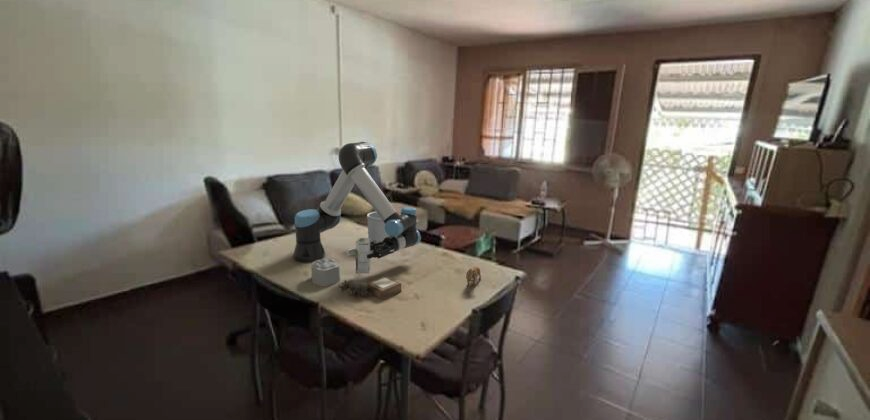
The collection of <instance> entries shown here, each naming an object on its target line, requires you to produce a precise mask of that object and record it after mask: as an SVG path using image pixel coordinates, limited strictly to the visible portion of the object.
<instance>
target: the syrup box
mask: <svg viewBox="0 0 870 420" xmlns="http://www.w3.org/2000/svg"><path fill="white" fill-rule="evenodd" d="M355 248H356V254H355V274H370V270H371V258H370V259H367V260H364V261H360V258H359V255H361V254H364V253H368V252H371V250H370V238H368V237H358V238H357V239H356V241H355Z"/></svg>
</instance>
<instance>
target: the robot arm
mask: <svg viewBox="0 0 870 420" xmlns="http://www.w3.org/2000/svg"><path fill="white" fill-rule="evenodd" d="M377 159H378V153H377V150H376V147H375V145H373V144H372V143H370V142H368V141H359V142H349V143H346V144H344V145H343V146H342V147H340V150H339V152H338V161H339V165H340V167H341V172H340V174H339V175H338V178H337V180H336V181H335V183H334V185H333V186H332V188H331V190H330V192H329V193H328V195H327V197H326V199H325V200H322V201H321V202H320V204H319V205H318V206H317V209H315V208H314V209H311V208H310V209H309V208H307V209H304V210H300V211H298V212H297V213H296V214H295V216H294V228H295V229H294V231H295V240H296V242H295V243H296V244H295V246H294V251H293V254H292V255H293V260H295V261H296V262H299V263H300V262H302V263H309V262H311V263H313V262H314V261H316V260H321V259H323V258H325V256H326V251H325V248H324V246H323V244H322V242H321V241H322V240H321V233H323V232H326V231H329V230H332V229H333V228H335V227H336V226H338V224H339V223H341V219H342V216H341V214H342V210H341V208H342V206H343V205H344V203H345V201H346V200H347V198H348V196H349V195H350V193H351V191H352V189H353V188H354V186H355V185H356V186H357V187H358V189H359V190H360V192H361V193H362V194H363V196H364V197H365V198H366V199H367V202H368V203H369V204H370V205H371V207H373V208H372V209H374V212H377V213H378V215H379V216H380V217H381V219H382V220H383V222H384V223H385V232H386V233H387V234H388V235H389V237H386V238H384V240H383V241H382V242H378V243H376V241H375V240H374V241H372V242H370V252H368V253H364V254H361V255H359V258H360V261H364V260H367V259H370V260H371V259H373V258H374V259H375V258H377V259H381V258H385V257H386V256H388V255H390V254H394V253H395V252H399V251H401V250H403V249H404V250H405V249H407V248H410V247H414V246H416V245H418V244H419V243H420V242H421V240H422V235H421V233H420V232H419V230H418V229H417V224H416V221H417V220H418V219H417V217H418V215H417V214H418V213H417V212H418V211H417V209H416V207H413V206H405V207H401V210H400V214H399V213H398V212H397V210H396V209H395V207H394V206H393V205H392V203H391V202H390V201H389V200H388V198H387V197H386V195H385V193H384V192H383V191H382V190H381V188H380V187H379V185H378V184H377V183H376V182H375V180H374V178H373V176H371V174H370V173H369V171H368V168H369V167H370V166H372V165H373V164H375V163H376V161H377ZM346 251H347V257H351V256H354V255H356V247H352V248H350V249H347V250H346Z"/></svg>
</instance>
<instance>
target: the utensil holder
mask: <svg viewBox="0 0 870 420" xmlns="http://www.w3.org/2000/svg"><path fill="white" fill-rule="evenodd" d="M366 219H367V236H368V237H367V238H370V242H372V241H374V240H375V241H376V243H378V242H382V241H383V240H384V238H386V237H389V235H388V234H387V233H386V232H385V223H384V222H383V220H382V219H381V217H380V216H379V215H378V213H377V212H376V211H372V212H371V211H370V212H368V213H367V214H366Z"/></svg>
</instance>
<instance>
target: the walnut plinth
mask: <svg viewBox="0 0 870 420" xmlns="http://www.w3.org/2000/svg"><path fill="white" fill-rule="evenodd" d="M366 283H367V284H368V285H369V288H370V289H369V290H370V294H371V295H372V296H374V297H376V298H379V299H380V300H385V299H388V298H391V297H393V296H395V295H397V294H400V293H402V282H399V281H397V280H395V279H393V278H391V277H388V276H382V277H379V278H377V279H374V280H372V281H369V282H366Z"/></svg>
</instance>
